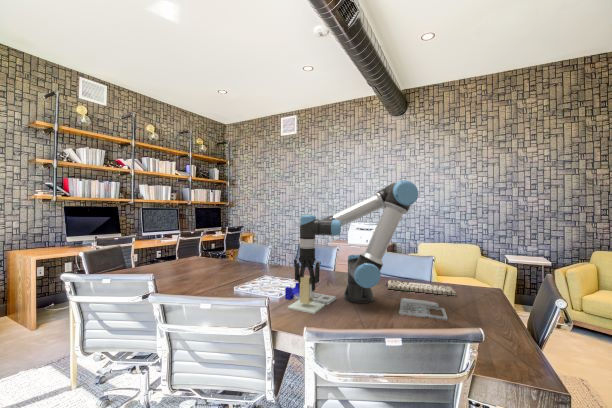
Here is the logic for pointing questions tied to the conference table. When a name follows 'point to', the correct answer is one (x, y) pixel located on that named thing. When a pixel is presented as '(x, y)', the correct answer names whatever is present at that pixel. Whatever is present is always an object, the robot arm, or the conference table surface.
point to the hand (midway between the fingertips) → (306, 296)
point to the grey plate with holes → (319, 298)
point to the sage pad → (306, 307)
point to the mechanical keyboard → (420, 288)
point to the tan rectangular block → (305, 290)
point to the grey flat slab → (420, 308)
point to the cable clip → (291, 291)
